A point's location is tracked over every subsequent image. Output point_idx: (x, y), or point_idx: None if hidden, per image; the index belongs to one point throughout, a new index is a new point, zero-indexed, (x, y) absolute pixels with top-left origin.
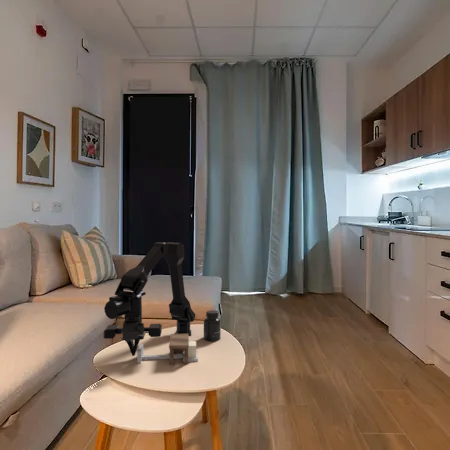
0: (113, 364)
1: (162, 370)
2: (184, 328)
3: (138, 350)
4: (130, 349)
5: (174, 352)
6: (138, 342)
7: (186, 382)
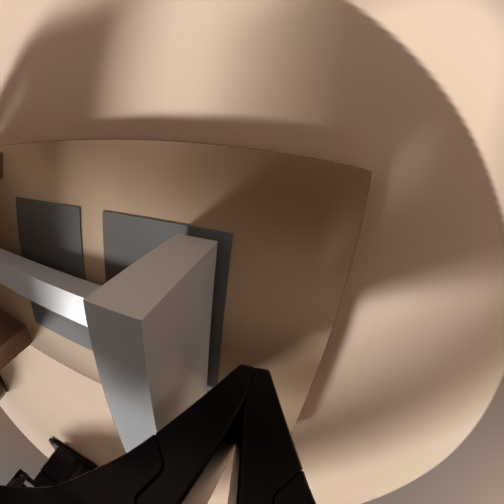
0: (440, 341)
1: (47, 124)
2: (50, 468)
3: (130, 353)
4: (283, 437)
5: (10, 323)
6: (74, 484)
7: (5, 10)
